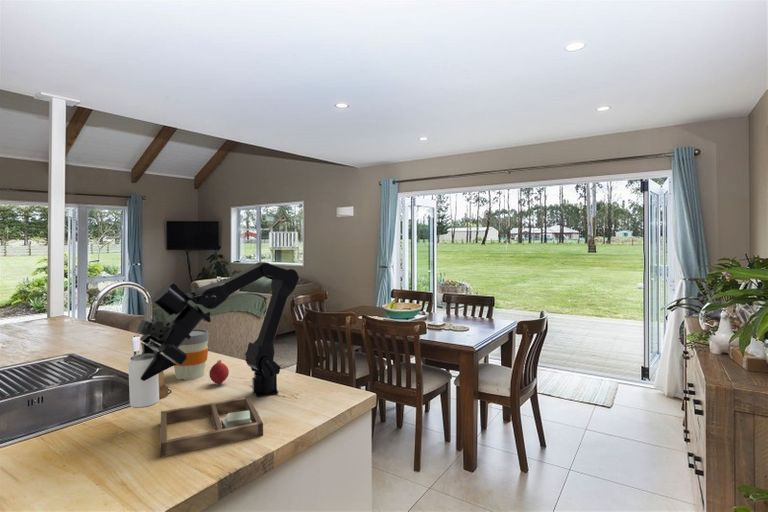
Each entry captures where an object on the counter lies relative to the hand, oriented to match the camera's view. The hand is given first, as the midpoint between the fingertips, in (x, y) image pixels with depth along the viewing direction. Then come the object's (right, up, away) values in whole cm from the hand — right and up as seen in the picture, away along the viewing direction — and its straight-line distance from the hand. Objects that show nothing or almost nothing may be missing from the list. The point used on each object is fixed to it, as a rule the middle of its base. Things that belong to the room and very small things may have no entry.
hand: (137, 376), depth 105 cm
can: (+1, -7, +1) cm, 8 cm away
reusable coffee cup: (-6, -12, +41) cm, 43 cm away
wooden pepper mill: (-7, -12, +22) cm, 27 cm away
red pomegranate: (+8, -12, +32) cm, 35 cm away
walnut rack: (+18, -13, +1) cm, 22 cm away
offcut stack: (+25, -13, -1) cm, 29 cm away
